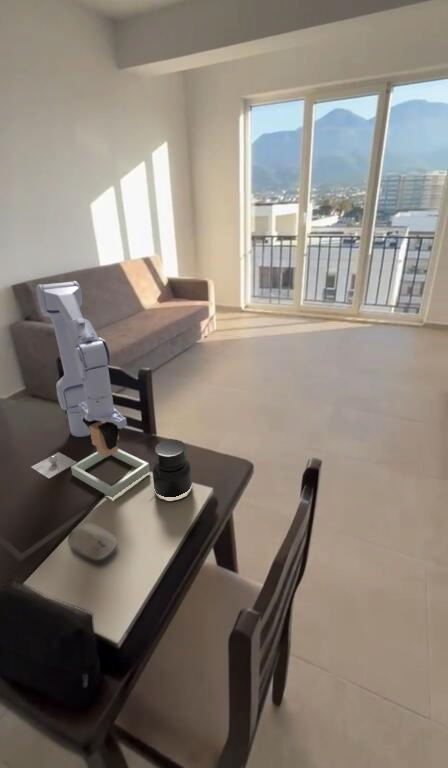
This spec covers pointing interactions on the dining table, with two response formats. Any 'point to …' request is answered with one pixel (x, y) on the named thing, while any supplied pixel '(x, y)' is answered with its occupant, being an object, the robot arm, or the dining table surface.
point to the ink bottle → (171, 469)
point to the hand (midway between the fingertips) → (106, 444)
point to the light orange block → (100, 440)
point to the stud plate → (53, 465)
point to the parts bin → (102, 486)
